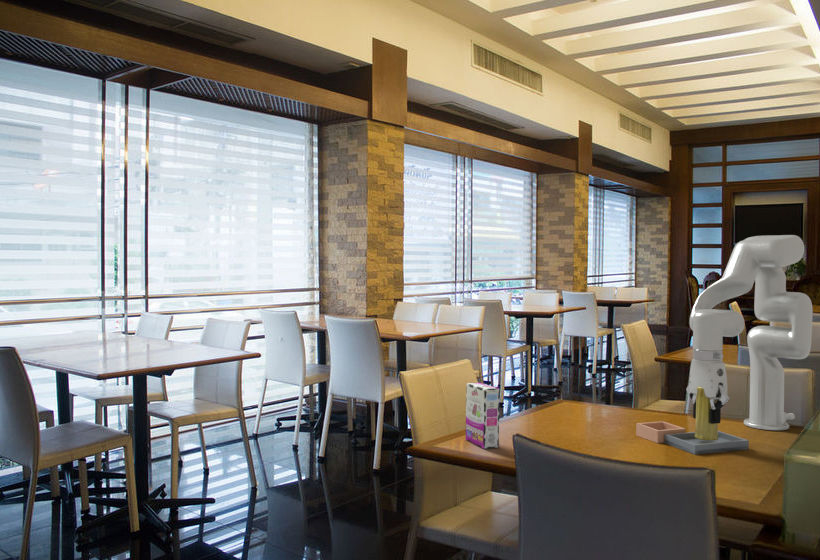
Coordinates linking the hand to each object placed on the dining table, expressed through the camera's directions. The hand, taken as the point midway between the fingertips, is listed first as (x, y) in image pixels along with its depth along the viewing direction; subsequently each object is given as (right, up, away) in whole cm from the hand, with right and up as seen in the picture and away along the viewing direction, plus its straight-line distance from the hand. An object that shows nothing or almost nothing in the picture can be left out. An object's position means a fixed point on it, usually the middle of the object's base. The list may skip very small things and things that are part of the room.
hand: (706, 420), depth 185 cm
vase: (0, -5, 0) cm, 5 cm away
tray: (0, -7, 0) cm, 7 cm away
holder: (-10, -7, +9) cm, 15 cm away
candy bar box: (-62, -7, +1) cm, 63 cm away
